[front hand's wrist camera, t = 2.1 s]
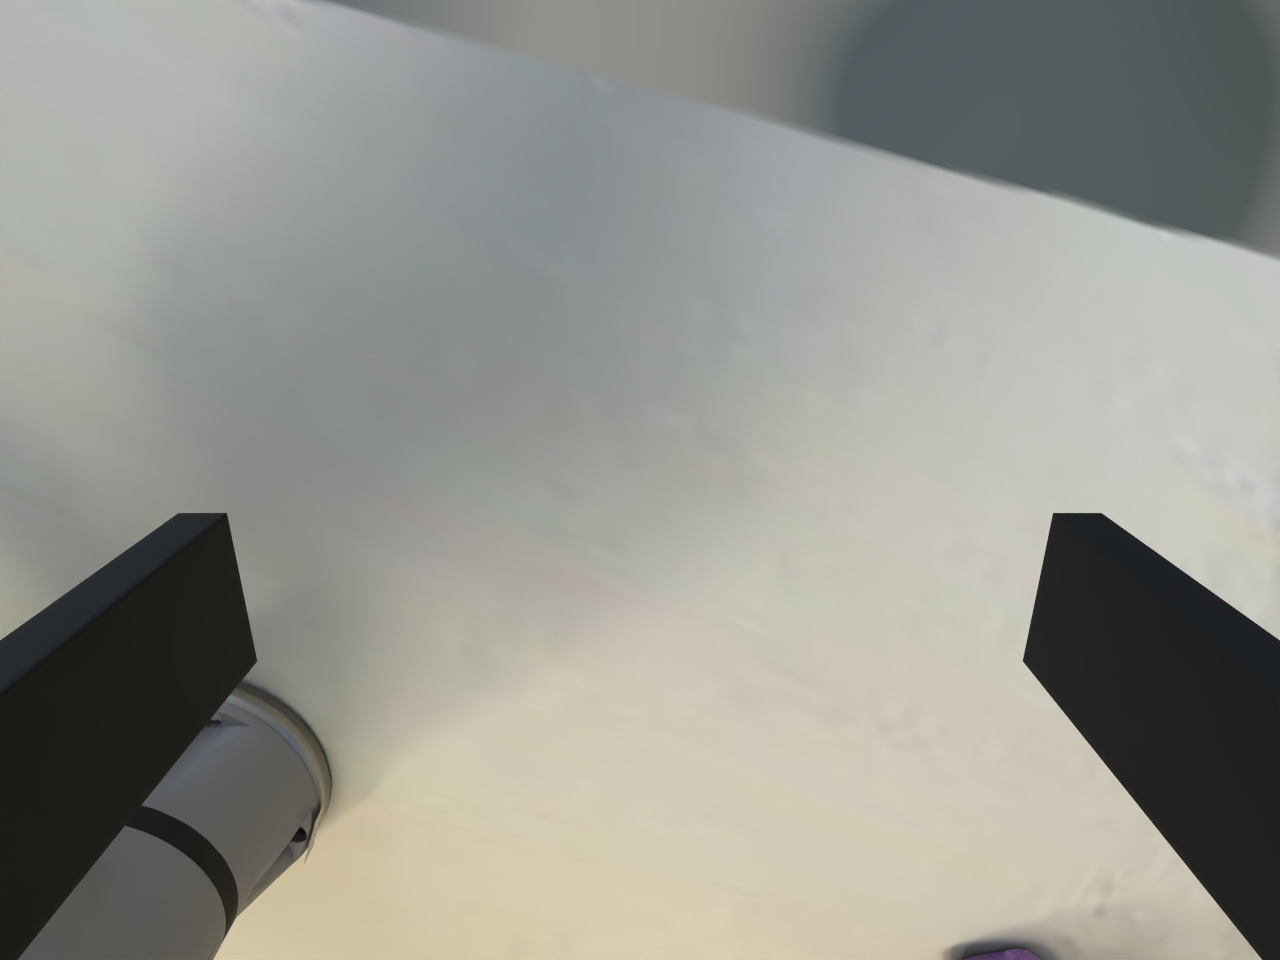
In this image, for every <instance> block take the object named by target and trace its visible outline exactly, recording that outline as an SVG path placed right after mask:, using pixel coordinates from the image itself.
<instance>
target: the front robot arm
mask: <svg viewBox="0 0 1280 960" xmlns="http://www.w3.org/2000/svg"><path fill="white" fill-rule="evenodd" d="M256 662H257V658H256V653H255V648H254V643H253V639H252V634H251V629H250V624H249V619H248V614H247V609H246V604H245V600H244V595H243V590H242V585H241V580H240V575H239V570H238V565H237V560H236V556H235V551H234V546H233V541H232V536H231V531H230V526H229V521H228V517H227V513H178V514H177V515H175V516H174V517H173V518H171V519H170V520H168V521H167V522H166V523H164V524H163V525H161V526H160V527H159V528H157V529H156V530H154V531H153V532H152V533H150V534H149V535H147V536H146V537H145V538H143V539H142V540H140V541H139V542H138V543H136V544H135V545H133V546H132V547H131V548H129V549H128V550H126V551H125V552H124V553H122V554H121V555H119V556H118V557H117V558H115V559H114V560H112V561H111V562H110V563H108V564H107V565H105V566H104V567H103V568H101V569H100V570H98V571H97V572H96V573H94V574H93V575H91V576H90V577H89V578H87V579H86V580H84V581H83V582H82V583H80V584H79V585H77V586H76V587H75V588H73V589H72V590H70V591H69V592H68V593H66V594H65V595H63V596H62V597H61V598H59V599H58V600H56V601H55V602H54V603H52V604H51V605H49V606H48V607H47V608H45V609H44V610H42V611H41V612H40V613H38V614H37V615H35V616H34V617H33V618H31V619H30V620H28V621H27V622H26V623H24V624H23V625H21V626H20V627H19V628H17V629H16V630H14V631H13V632H12V633H10V634H9V635H7V636H6V637H5V638H3V639H2V640H0V960H213V959H214V957H215V955H216V953H217V952H218V950H219V948H220V946H221V944H222V942H223V940H224V938H225V937H226V935H227V933H228V931H229V929H230V928H231V926H232V924H233V922H234V921H235V919H236V917H237V916H238V915H239V914H240V913H241V912H242V911H243V910H244V909H246V908H247V907H248V906H249V905H250V904H251V903H252V902H253V901H254V900H255V899H256V898H257V897H258V896H259V895H260V894H261V893H262V892H263V891H264V890H265V889H267V888H268V887H269V886H270V885H271V884H272V883H273V882H274V881H275V880H276V879H277V878H278V877H279V876H280V875H281V874H282V873H283V872H284V871H285V870H286V869H287V868H289V867H290V866H291V865H292V864H293V863H294V862H295V861H296V860H297V859H298V858H299V857H300V856H301V855H302V854H303V853H304V852H305V850H306V849H307V848H308V851H307V854H306V858H305V861H306V859H307V857H308V855H309V853H310V851H311V849H312V847H313V843H314V840H315V836H316V832H317V830H318V828H319V826H320V824H321V822H322V820H323V818H324V815H325V813H326V810H327V807H328V803H329V799H330V775H329V770H328V766H327V763H326V760H325V757H324V754H323V752H322V750H321V748H320V746H319V744H318V743H317V741H316V740H315V738H314V736H313V735H312V734H311V732H310V731H309V730H308V728H307V727H306V726H305V725H304V724H303V723H302V722H301V721H300V720H299V718H297V717H296V716H295V715H294V714H293V713H292V712H291V711H290V710H289V709H287V708H286V707H285V706H283V705H282V704H281V703H279V702H278V701H276V700H275V699H273V698H272V697H270V696H268V695H267V694H265V693H263V692H261V691H259V690H257V689H255V688H253V687H251V686H248V685H246V684H243V683H241V681H242V679H243V678H244V677H245V676H246V674H247V673H248V672H249V671H250V669H251V668H252V667H253V666H254V664H255V663H256ZM1023 662H1024V663H1025V664H1026V666H1027V667H1028V668H1029V669H1030V671H1031V672H1032V673H1033V674H1034V676H1035V677H1036V678H1037V679H1038V681H1039V682H1040V683H1041V684H1042V686H1043V687H1044V688H1045V689H1046V691H1047V692H1048V693H1049V694H1050V696H1051V697H1052V698H1053V699H1054V701H1055V702H1056V703H1057V704H1058V706H1059V707H1060V708H1061V709H1062V711H1063V712H1064V713H1065V714H1066V716H1067V717H1068V718H1069V719H1070V720H1071V722H1072V723H1073V724H1074V725H1075V727H1076V728H1077V729H1078V730H1079V732H1080V733H1081V734H1082V735H1083V737H1084V738H1085V739H1086V740H1087V742H1088V743H1089V744H1090V745H1091V747H1092V748H1093V749H1094V750H1095V752H1096V753H1097V754H1098V755H1099V757H1100V758H1101V759H1102V760H1103V762H1104V763H1105V764H1106V765H1107V767H1108V768H1109V769H1110V770H1111V772H1112V773H1113V774H1114V775H1115V777H1116V778H1117V779H1118V780H1119V782H1120V783H1121V784H1122V785H1123V787H1124V788H1125V789H1126V790H1127V792H1128V793H1129V794H1130V795H1131V797H1132V798H1133V799H1134V800H1135V802H1136V803H1137V804H1138V805H1139V807H1140V808H1141V809H1142V810H1143V812H1144V813H1145V814H1146V815H1147V816H1148V818H1149V819H1150V820H1151V821H1152V823H1153V824H1154V825H1155V826H1156V828H1157V829H1158V830H1159V831H1160V833H1161V834H1162V835H1163V836H1164V838H1165V839H1166V840H1167V841H1168V843H1169V844H1170V845H1171V846H1172V848H1173V849H1174V850H1175V851H1176V853H1177V854H1178V855H1179V856H1180V858H1181V859H1182V860H1183V861H1184V863H1185V864H1186V865H1187V866H1188V868H1189V869H1190V870H1191V871H1192V873H1193V874H1194V875H1195V876H1196V878H1197V879H1198V880H1199V881H1200V883H1201V884H1202V885H1203V886H1204V888H1205V889H1206V890H1207V891H1208V893H1209V894H1210V895H1211V896H1212V898H1213V899H1214V900H1215V901H1216V903H1217V904H1218V905H1219V906H1220V908H1221V909H1222V910H1223V911H1224V912H1225V914H1226V915H1227V916H1228V917H1229V919H1230V920H1231V921H1232V922H1233V924H1234V925H1235V926H1236V927H1237V929H1238V930H1239V931H1240V932H1241V934H1242V935H1243V936H1244V937H1245V939H1246V940H1247V941H1248V942H1249V944H1250V945H1251V946H1252V947H1253V949H1254V950H1255V951H1256V952H1257V954H1258V955H1259V956H1260V957H1261V959H1262V960H1280V640H1278V639H1277V638H1275V637H1274V636H1273V635H1271V634H1270V633H1268V632H1267V631H1266V630H1264V629H1263V628H1261V627H1260V626H1259V625H1257V624H1256V623H1254V622H1253V621H1252V620H1250V619H1249V618H1247V617H1246V616H1245V615H1243V614H1242V613H1240V612H1239V611H1238V610H1236V609H1235V608H1233V607H1232V606H1231V605H1229V604H1228V603H1226V602H1225V601H1224V600H1222V599H1221V598H1219V597H1218V596H1217V595H1215V594H1214V593H1212V592H1211V591H1210V590H1208V589H1207V588H1205V587H1204V586H1203V585H1201V584H1200V583H1198V582H1197V581H1196V580H1194V579H1193V578H1191V577H1190V576H1189V575H1187V574H1186V573H1184V572H1183V571H1182V570H1180V569H1179V568H1177V567H1176V566H1175V565H1173V564H1172V563H1170V562H1169V561H1168V560H1166V559H1165V558H1163V557H1162V556H1161V555H1159V554H1158V553H1156V552H1155V551H1154V550H1152V549H1151V548H1149V547H1148V546H1147V545H1145V544H1144V543H1142V542H1141V541H1140V540H1138V539H1137V538H1135V537H1134V536H1133V535H1131V534H1130V533H1128V532H1127V531H1126V530H1124V529H1123V528H1121V527H1120V526H1119V525H1117V524H1116V523H1114V522H1113V521H1112V520H1110V519H1109V518H1107V517H1106V516H1105V515H1103V514H1102V513H1053V517H1052V521H1051V526H1050V531H1049V536H1048V541H1047V546H1046V551H1045V556H1044V560H1043V565H1042V570H1041V575H1040V580H1039V585H1038V590H1037V595H1036V600H1035V604H1034V609H1033V614H1032V619H1031V624H1030V629H1029V634H1028V639H1027V643H1026V648H1025V653H1024V658H1023ZM308 846H309V847H308ZM304 863H305V862H304Z"/></svg>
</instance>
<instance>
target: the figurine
mask: <svg viewBox="0 0 1280 960" xmlns="http://www.w3.org/2000/svg"><path fill="white" fill-rule="evenodd" d="M963 960H1041V959H1040V958H1038V957H1037V956H1036V955H1034V954H1033V953H1032V952H1030V951H1029V950H1026V949H1021V948H1015V949H1008V950H1006V951H1004V952H996V953H988V954H981V955H977V956H973V957H970V958H967V959H963Z"/></svg>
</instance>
